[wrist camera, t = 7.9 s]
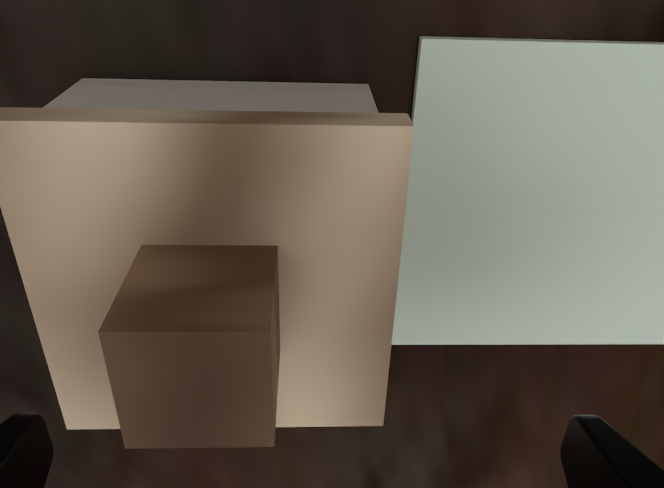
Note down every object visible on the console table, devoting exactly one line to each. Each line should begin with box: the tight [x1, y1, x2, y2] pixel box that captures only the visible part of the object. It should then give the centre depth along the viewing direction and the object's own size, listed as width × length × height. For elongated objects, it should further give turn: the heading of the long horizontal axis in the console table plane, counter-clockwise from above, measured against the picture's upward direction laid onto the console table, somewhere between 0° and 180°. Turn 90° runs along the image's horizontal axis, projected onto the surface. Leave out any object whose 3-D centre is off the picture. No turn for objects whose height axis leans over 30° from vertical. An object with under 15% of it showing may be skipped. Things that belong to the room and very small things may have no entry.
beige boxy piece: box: [43, 78, 378, 113], centre depth 18 cm, size 9×9×4 cm
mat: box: [392, 36, 664, 345], centre depth 21 cm, size 12×12×1 cm
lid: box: [0, 107, 414, 449], centre depth 14 cm, size 10×10×4 cm
